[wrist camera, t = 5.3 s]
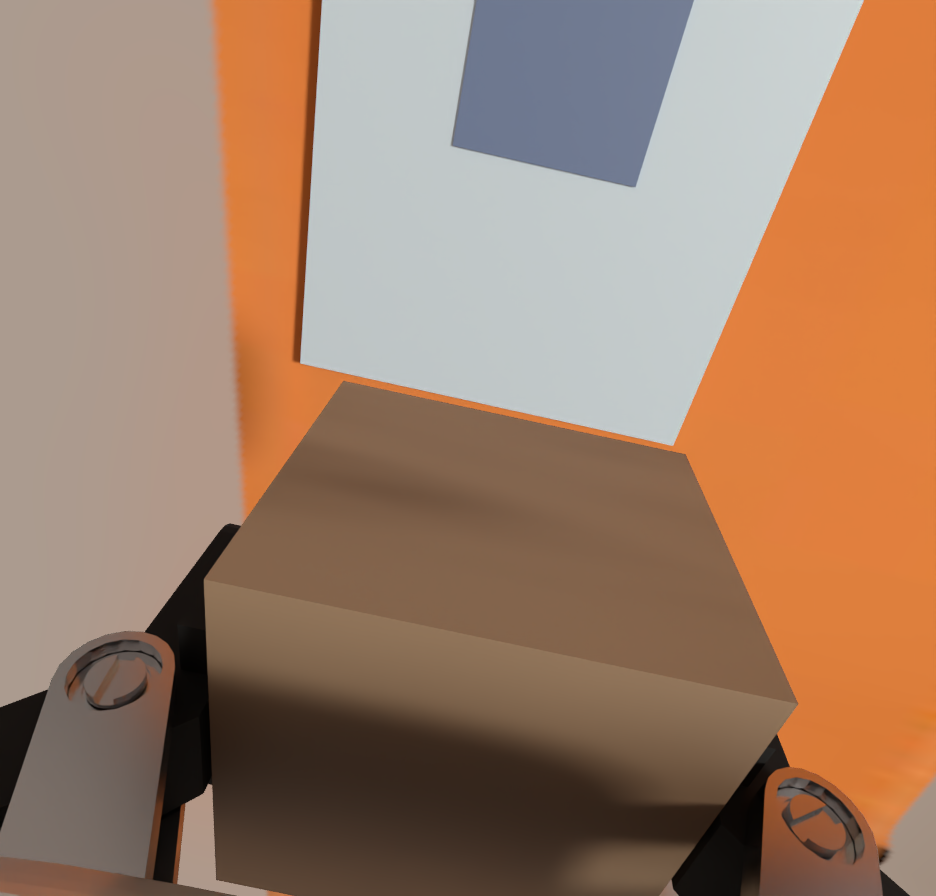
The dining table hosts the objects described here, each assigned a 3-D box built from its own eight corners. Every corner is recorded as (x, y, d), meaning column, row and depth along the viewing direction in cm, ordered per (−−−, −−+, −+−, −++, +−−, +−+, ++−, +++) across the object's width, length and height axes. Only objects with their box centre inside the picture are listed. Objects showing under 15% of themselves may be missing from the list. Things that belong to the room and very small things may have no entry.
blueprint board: (670, 439, 29) (673, 446, 28) (304, 358, 29) (299, 364, 28) (1074, -515, 15) (1096, -541, 14) (371, -690, 15) (364, -725, 14)
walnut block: (585, 682, 13) (612, 960, 9) (320, 626, 13) (216, 880, 9) (685, 454, 10) (798, 703, 6) (343, 381, 10) (203, 579, 6)
